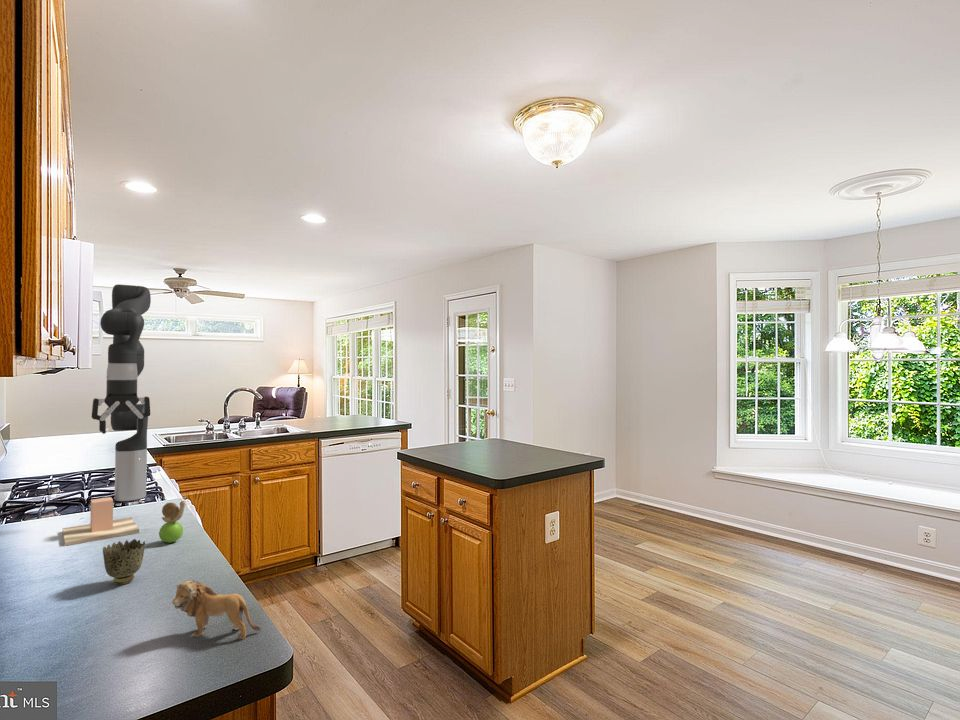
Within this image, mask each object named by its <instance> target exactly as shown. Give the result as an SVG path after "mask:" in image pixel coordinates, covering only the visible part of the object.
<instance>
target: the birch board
mask: <svg viewBox="0 0 960 720" xmlns="http://www.w3.org/2000/svg"><path fill="white" fill-rule="evenodd" d="M139 533H140V528H139V527H138V525H137V524H136V522H135V520H134V519H133V518H132V517H125V518H120V519H119V518H118V519H113V529H109V530H103V531H97V532H92V531H91V529H90V523H87V524H82V525H75V526H69V527H63V528H62V537H63V543H64V547H65V546H72V545H77V544H84V543H89V542H94V541H100V540H106V539H113V538H118V537H123V536H128V535H135V534H139Z"/></svg>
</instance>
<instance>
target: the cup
mask: <svg viewBox="0 0 960 720" xmlns="http://www.w3.org/2000/svg"><path fill="white" fill-rule="evenodd" d="M145 546H146V541H145V540H144V541H142V542H141V540H140V539H138V540H137V539H136V538H133V539H132V540H130V541H128V539H127V540H125V541H124V544H123V542H122V541H118V542H117V543H116V542H113V543H112V544H111V545H110V544H108V545H107V547H106V546H103V547H102V557H103V562H104V568H105V571H106V574H107V575H108V576H109V577H111V578H113V580H112V581H113V583H114V585H117V586H118V585H119V586H122V585H126V584H130V583H131V582H133V580H134V579H135V574H136V572H138V571H139V569H141V567H142V565H143V564H142V563H143V559H144V555H145Z"/></svg>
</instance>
